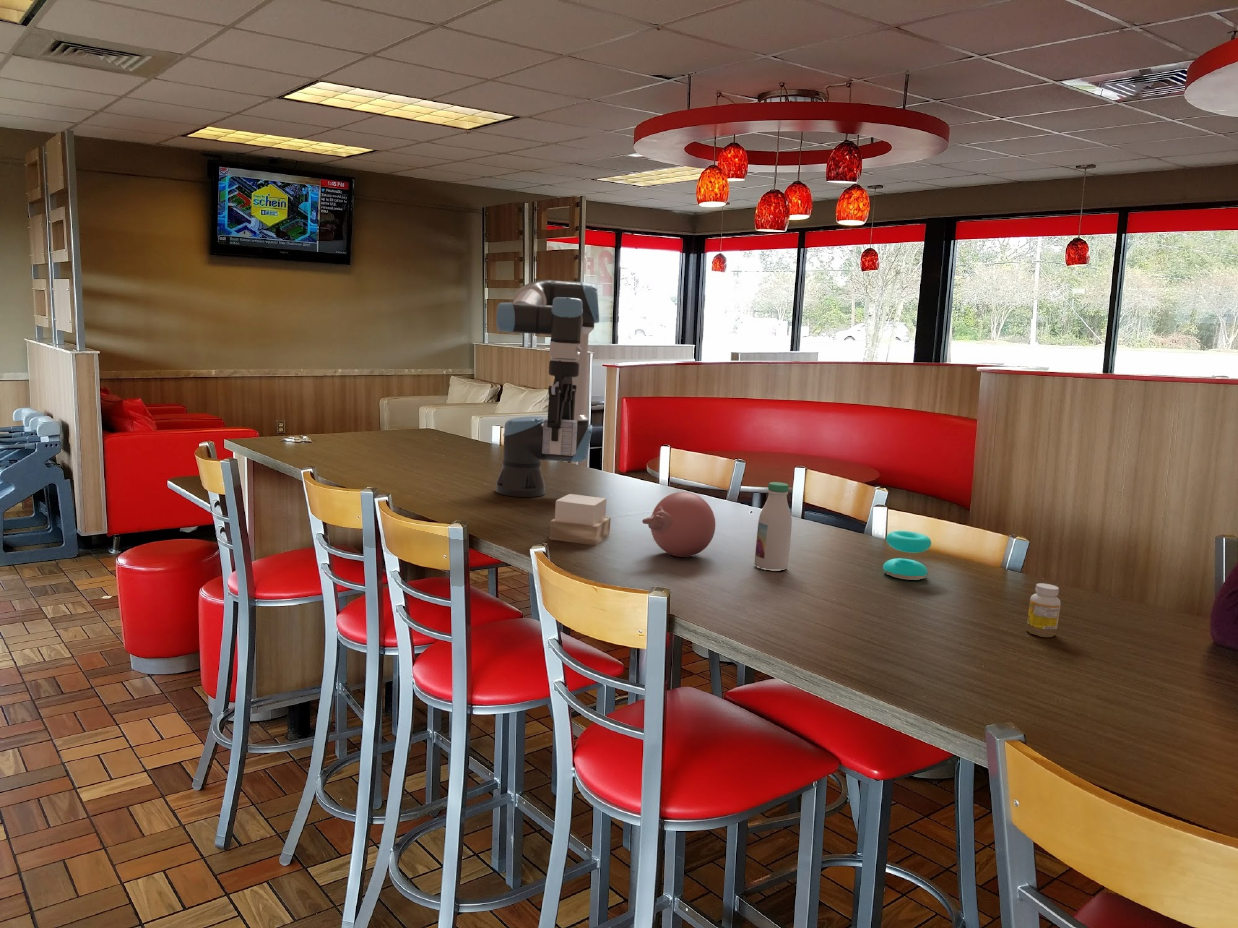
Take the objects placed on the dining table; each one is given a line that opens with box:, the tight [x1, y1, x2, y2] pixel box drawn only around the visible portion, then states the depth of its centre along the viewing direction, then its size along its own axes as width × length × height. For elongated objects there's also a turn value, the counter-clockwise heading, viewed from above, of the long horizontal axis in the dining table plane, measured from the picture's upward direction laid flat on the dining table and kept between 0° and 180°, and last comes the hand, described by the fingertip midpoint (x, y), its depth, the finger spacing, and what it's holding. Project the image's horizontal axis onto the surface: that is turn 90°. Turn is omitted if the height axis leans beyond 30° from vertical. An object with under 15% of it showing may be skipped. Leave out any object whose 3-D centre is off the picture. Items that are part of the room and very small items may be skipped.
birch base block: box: [548, 516, 611, 546], centre depth 231 cm, size 12×12×5 cm
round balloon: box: [642, 491, 716, 558], centre depth 217 cm, size 15×20×15 cm
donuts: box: [882, 530, 932, 576], centre depth 214 cm, size 10×10×10 cm
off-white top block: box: [554, 493, 608, 525], centre depth 231 cm, size 10×10×5 cm
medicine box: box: [542, 418, 577, 456], centre depth 232 cm, size 8×4×9 cm, turn 81°
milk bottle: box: [754, 481, 793, 569], centre depth 213 cm, size 8×8×20 cm
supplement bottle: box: [1026, 582, 1061, 630], centre depth 178 cm, size 5×5×10 cm
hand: (559, 452), depth 232 cm, fingers closed on medicine box, 5 cm apart
